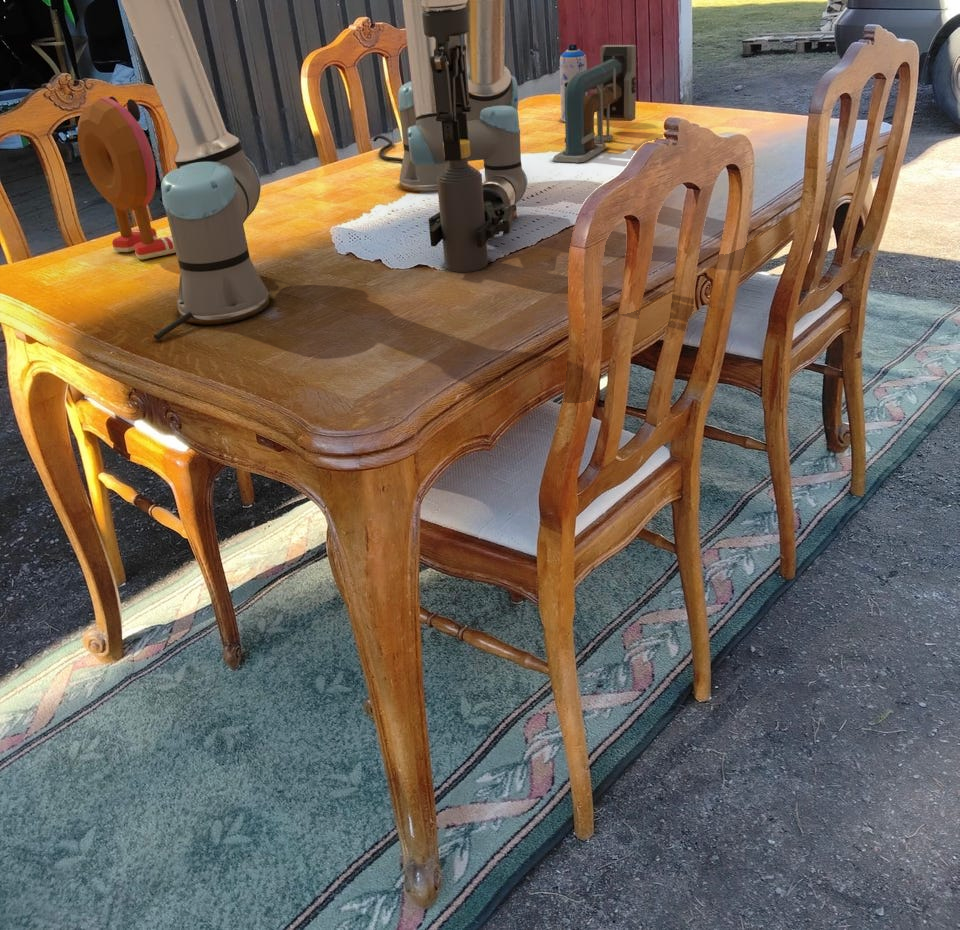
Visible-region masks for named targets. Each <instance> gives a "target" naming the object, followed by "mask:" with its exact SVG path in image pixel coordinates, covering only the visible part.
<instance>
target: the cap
mask: <svg viewBox="0 0 960 930" xmlns="http://www.w3.org/2000/svg"><path fill="white" fill-rule="evenodd" d="M460 147H461V159H462V158H466V157H469V156H470V154H471V150H470V142H469V140H466V139H460ZM443 153H444V143H443ZM444 158H445V154H444Z"/></svg>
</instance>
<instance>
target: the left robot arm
mask: <svg viewBox="0 0 960 930" xmlns="http://www.w3.org/2000/svg"><path fill="white" fill-rule="evenodd" d="M420 1H421V6H422V7H423V8H425V11H424V12H423V13H422V19H423V29H424V34H425V35H426V36H427V37H434V38H435V40H436V41H435V49H434V56H431V57H430V63H431V68H432V73H433V84H434V94H435V104H436V117H437V118H436V121H437V122H442V132H443V143H444V154H445V161H460V160H461V147H460V139H466V140H468V127H467V115H466V113H465V112H471V107H467V106H469V103H470V102H469V91H468V78H467V64H466V49H467V47H466V44H465V43H464V44H463V43H462V42H461V38H460V36H462V35H464V34H466V33H468V32H469V30H470V23H469V10H468V9H467V8H466V7H464V5H465V4H466V3H467V2H468V0H420ZM120 2H121V5H122V8H123V9H124V12H125V15H126V17H127V20H128V22H129V25H130V27H131V30H132V32H133V35H134V38H135V40H136V42H137V45H138V48H139V50H140V53H141V56H142V58H143V61H144V63H145V66H146V69H147V71H148V73H149V76H150V78H151V80H152V84H153V86H154V89H155V91H156V94H157V96H158V98H159V101H160V104H161V106H162V108H163V111H164V114H165V116H166V119H167V122H168V124H169V126H170V129H171V131H172V134H173V136H174V139H175V142H176V144H177V149H176V152H175V154H174V156H173V161H174V164H175V166H176V168H173V169H172V170H170V171H169V172H168V173H166V175H165V176H164V177H163V178H162V180H161V183H160V190H161V199H162V206H163V208H164V210H165V214H166V218H167V221H168V226H169V230H170V234H171V236H172V238H173V242H174V247H175V251H176V253H175V254H176V258H177V262H178V266H179V283H178V294H177V310H178V314H179V318H177V319H176V320H174V321H173V322H172V323H170V324H168V325H167V326H165V327H164V328H162V329H161V330H160V331H158V332H156V333H155V334H153V337H154V339H155V340H156V341H159V340H160V339H162V338H164V336H166V335H168V334H169V333H170V332H172V331H173V330H174V329H176V328H178V327H180V326H181V325H182V324H183V323H185V322H186V323H189V324H193V325H202V326H203V325H204V326H205V325H206V326H210V325H222V324H230V323H233V322H239V321H241V320H245V319H248V318H251V317H253V316H256V315H258V314H260V312H263V311H264V310H265V309H266V308H267V307H268V306H269V305H270V296H269V291H268V289H267V287H266V284H265V283H264V282H263V280H262V278H261V276H260V274H259V272H258V270H257V269H256V267H255V265H254V264H253V262H252V260H251V257H250V251H249V246H248V241H247V236H246V232H245V227H244V224H245V222H246V221H247V220H248V218H249V217H250V216H251V215H252V214H253V213H254V211H255V210H256V208H257V206H258V203H259V200H260V196H261V191H262V190H261V188H262V184H261V178H260V175H259V174H260V173H259V171H258V170H257V167H256V166H255V164H254V163H253V162H252V160H251V159H249V158H248V156H246V154H245V152H244V149H243V147H242V143H241V142H240V139H239V137H237V136H236V135H234V134H231V133H230V132H228V131H227V129H226V128H227V127H226V125H225V122H224V120H223V118H222V115H221V112H220V109H219V106H218V104H217V102H216V98H215V96H214V93H213V90H212V88H211V84H210V82H209V79H208V77H207V76H208V75H207V74H206V71H205V68H204V66H203V63H202V61H201V58H200V55H199V52H198V48H197V47H196V44H195V41H194V39H193V36H192V33H191V30H190V28H189V24H188V22H187V19H186V17H185V13H184V11H183V8H182V6H181V3H180V0H120Z"/></svg>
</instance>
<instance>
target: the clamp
mask: <svg viewBox="0 0 960 930" xmlns="http://www.w3.org/2000/svg"><path fill="white" fill-rule="evenodd" d="M636 70H637V45H636V44H604V45H601V46H600V63H599V64H597V65H595V66H592V67H590V68H587V70H586V71H583V72H581V73H579V74H577V75H575V76H574V77H573V78H572V79H571V80H570V82H569V83H568V84H567V86H566V90H565V122H564V126H565V127H564V129H565V138H564V143H565V149H564V150H561V151H560V152H559V153H557V154H555V155H554V156H553V158H552V161H553V162H559V163H562V162H563V163H578V164H579V163H585V162H587V161H589V160H590V159H591V158H593V157H595V156H596V155H598V154H599V153H602V152H603V151H605V150H607V149H608V147H607V145H606V143H605V142H611V141H612V140H614V136H613V135H612V134H610V122H613V121H614V122H633V121H635V120H636V103H637V102H636V98H637V97H636V92H637V91H636V89H637V87H636V84H637V82H636V81H637V71H636ZM591 90H595V91H592V92H590V93H589V94H587V96H585V92H587V93H588V92H589V91H591ZM595 113H596V130H597V132H596V133H597V134H596V133H595ZM604 121H606V134H604Z"/></svg>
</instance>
